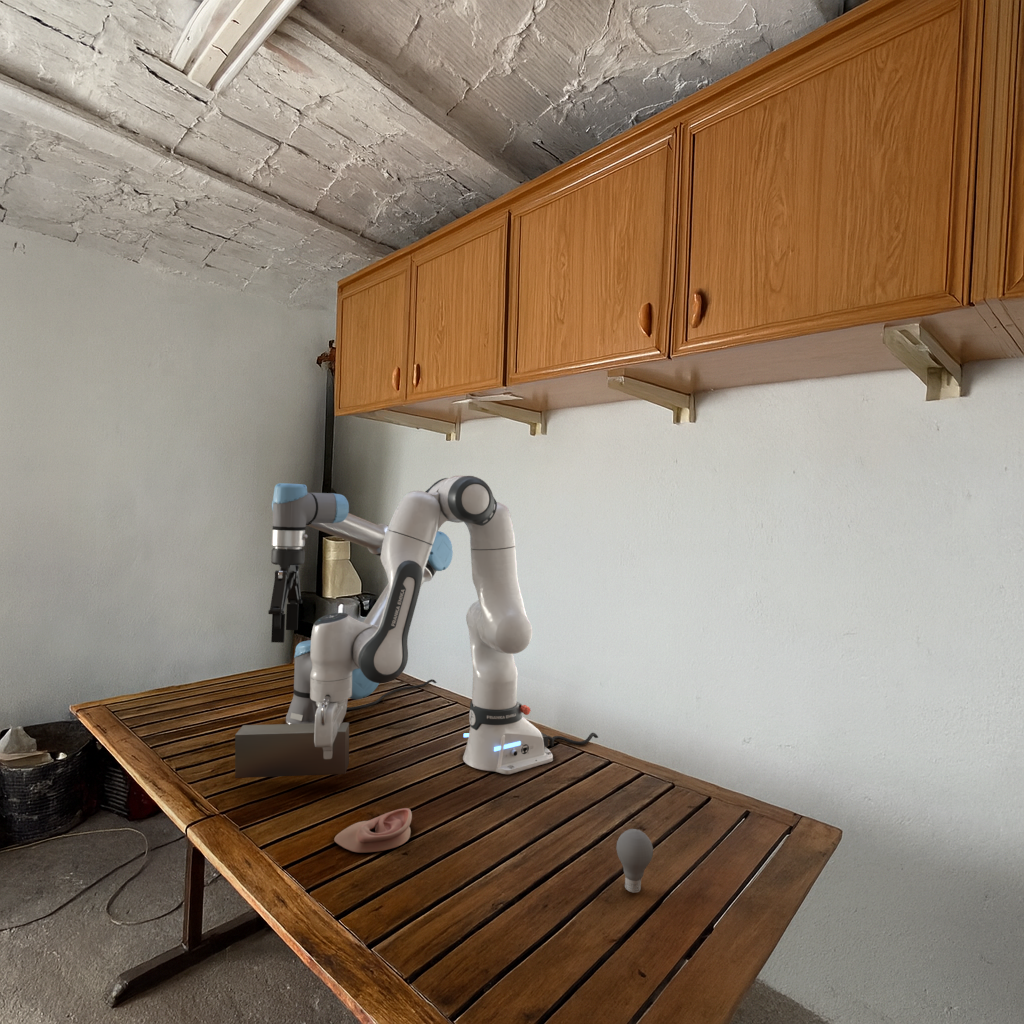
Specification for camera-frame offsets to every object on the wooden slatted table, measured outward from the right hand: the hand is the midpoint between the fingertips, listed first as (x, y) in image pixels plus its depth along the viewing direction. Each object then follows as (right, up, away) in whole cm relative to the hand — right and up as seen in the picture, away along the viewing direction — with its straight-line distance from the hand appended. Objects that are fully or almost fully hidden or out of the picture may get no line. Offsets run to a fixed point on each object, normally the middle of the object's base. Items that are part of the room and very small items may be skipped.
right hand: (331, 751), depth 138 cm
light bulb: (+60, -11, -33) cm, 69 cm away
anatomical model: (+14, -9, -20) cm, 26 cm away
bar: (-8, -4, -1) cm, 9 cm away
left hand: (-15, +22, +14) cm, 30 cm away
